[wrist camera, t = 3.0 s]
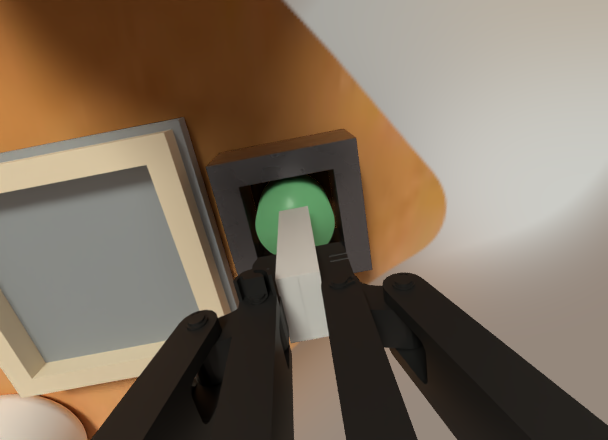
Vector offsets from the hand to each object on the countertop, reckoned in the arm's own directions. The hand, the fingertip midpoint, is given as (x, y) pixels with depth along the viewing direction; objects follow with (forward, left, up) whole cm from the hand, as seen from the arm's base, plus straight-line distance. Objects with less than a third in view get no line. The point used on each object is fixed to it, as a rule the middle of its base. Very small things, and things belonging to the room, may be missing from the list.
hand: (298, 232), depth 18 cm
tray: (-14, -2, -6) cm, 15 cm away
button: (0, 0, -4) cm, 4 cm away
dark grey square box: (0, 0, -6) cm, 6 cm away
